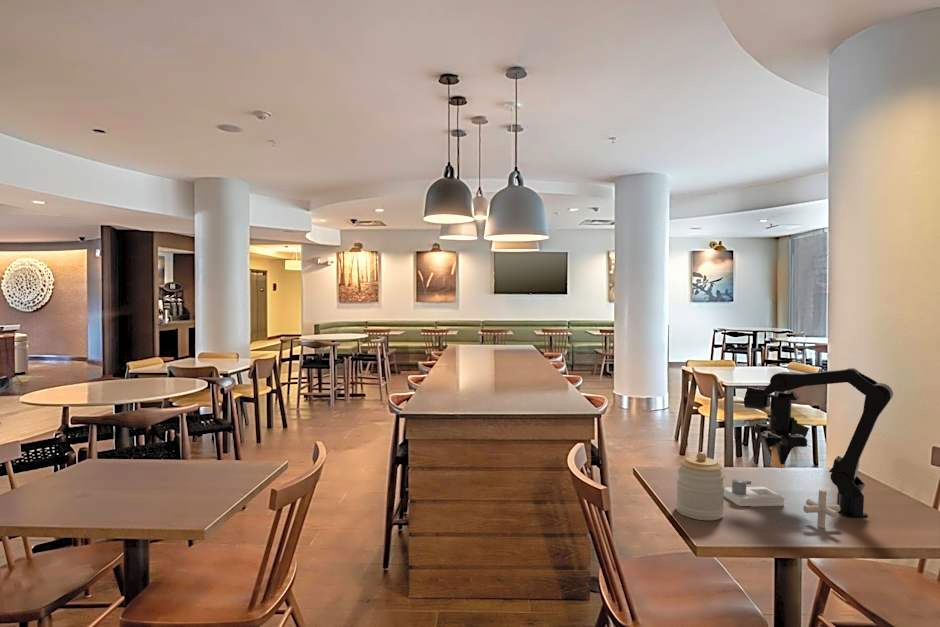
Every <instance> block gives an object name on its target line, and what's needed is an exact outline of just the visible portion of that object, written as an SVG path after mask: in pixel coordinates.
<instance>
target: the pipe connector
mask: <svg viewBox="0 0 940 627" xmlns="http://www.w3.org/2000/svg"><path fill="white" fill-rule="evenodd" d="M827 492H828V491H827V490H824V489H818V502H817V501H815V500H813V499H811V498H808V499H806V500H805V501H806V502H805V504H806V505H804V506H803V508H802V510H803V512H804V513H806V514H813V513H815V514H816V513H817V524H816V525H817V526H816V527H818V528H821V529H825V528H826V515H827V516H829V517H831V518H834V519H838V518H839V517H840V513H839V511H840V506H839V505H837V504H827Z"/></svg>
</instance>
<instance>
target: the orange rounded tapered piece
mask: <svg viewBox="0 0 940 627" xmlns="http://www.w3.org/2000/svg"><path fill="white" fill-rule="evenodd" d="M770 449H771V450H772V453H771V456H770V466H771V467H772V468H778V469H784V468H786V463H785V464H781V463H780V460H779V456H778V451H777V447H776V445H774V446H772V447H770Z"/></svg>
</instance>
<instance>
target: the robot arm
mask: <svg viewBox="0 0 940 627" xmlns="http://www.w3.org/2000/svg"><path fill="white" fill-rule="evenodd" d="M842 383H847V384H850V385H851V386H852V387H853V388H855V389H856V390H858V391H859V393H861V394H862V395H863V396H865V398H864V401H863V402H864V403H863V411H862V414H861V416H860V418H859V421H858V424H857V425H856V428H855V431H854V433H853V435H852V437H851V439H850V441H849V444H848V447H847V449H846V451H845V453H844V455H843V457H841V456H839V455H837V456H836V458H834V460H833V465H832V467H831V468H830V470H829V471H828V472H829V473H831V474H830V481H831V482H832V483H833V485H835V486H836V488H837V496H836V497H837V498H836V499H837V500H836V505H839V506H840V511H839V512H838V513H839V514H842V515H844V516H845V517H847V518H860V517H861V518H863V517H865V518H866V517H867V518H868V517H869V514H868V513H866V512H864V504H865V495H864V494H863V493H862V491H863V490H864V488H865V486H866V484H865V483H864V481H863V480H861V479H860V478H859V476H858V473H859V469H860V468H859V467H860V460H861V457H862V454H863V452H864V450H865V447H866V445H867V443H868V441H869V438H870V436H871V434H872V432H873V430H874V428H875V425H876V422H877V420H878V418H879V417H880V415H881V414H882V412H883V411H884V409H885V408H886V407H887V406H888V405H889V403H890V401H891V400H892V399H893V395H894V392H893V388H891V386H890V385H888V384H886V383H884V382H877V381H876V380H875V379H873V378H871V377H870V376H867V375H865V374H863V373H861V372H860V371H859V370H858V369H857V368H853V367H849V368H847V369H837V370H827V371H816V372H806V373H805V372H803V373H802V372H801V373H800V372H795V371H794V372H792V371H780V372H778V373H775V374H773V375H772V376H771V377H770V379H769V384H768V385H767V386H766V387H764V388H757V387H754V386H753V387H752V386H748V387H746V392H745V394H744V397H743V406H744V408H746V409H752V410H759V411H766V408H767V409H769V408H770V413H768V414H767V415H766V417H767V418H768V419H769V423H756V424H755V425H754V428H753V433H754V434H758V435H760V438H761V439H762V441H763V443H764V444H765V447H766V449H767V452H768V454H769V456H770V457H771V453H772V450H771V449H770V447H772V446H774V445H776V447H777V451H778V456H779V460H780V463H781V464H785V465H786V462H787V460H788V458H789V455H790V453H791V452H792V450H793V449H794V448H795V447H796V448H801V447H802V448H806V447H808V439H807V438H806V437H807V436H808V432H809V430H810V427H808V426H805V425H803V424H800V423H798V420H797V419H795V417H793V416H792V402H793V401H797V400H799V399H800V397H799V396H798V395H797V394H796V393H795V391H791V390H795V389H799V388H802V387H807V386H808V387H809V386H822V385H831V384H833V385H834V384H842ZM788 391H791V392H790V393H787V392H788ZM776 392H779V393H778V394H773V393H776ZM761 434H762V435H761Z"/></svg>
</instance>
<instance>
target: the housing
mask: <svg viewBox="0 0 940 627" xmlns="http://www.w3.org/2000/svg"><path fill="white" fill-rule="evenodd" d="M747 485H752V481H751V480H743V479H739V478H737V479H735V478H734V479H732V480H731V487H728V486H727V487H725V489H724V498H725V499H727V500H728V501H730V502H732V503H734V504H735V505H737V506H738V505H739V506H738V507H740V506H751V507H783V506H784V505H785V497H784V496H782V495H780V494H778V493H777V492H775V491H773V490H771V489H769V488H767V487H765V486H747Z"/></svg>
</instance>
